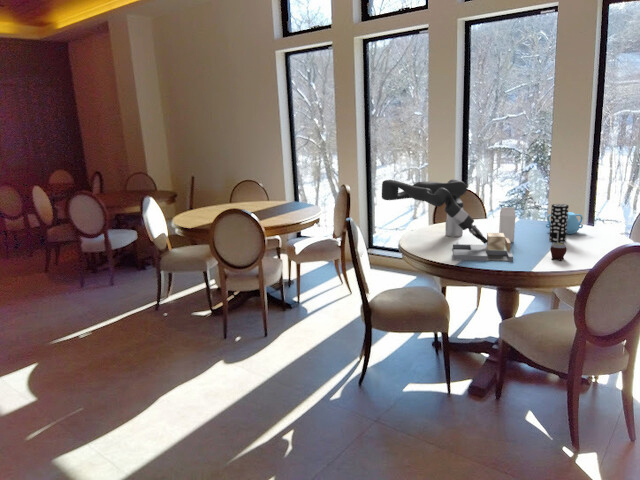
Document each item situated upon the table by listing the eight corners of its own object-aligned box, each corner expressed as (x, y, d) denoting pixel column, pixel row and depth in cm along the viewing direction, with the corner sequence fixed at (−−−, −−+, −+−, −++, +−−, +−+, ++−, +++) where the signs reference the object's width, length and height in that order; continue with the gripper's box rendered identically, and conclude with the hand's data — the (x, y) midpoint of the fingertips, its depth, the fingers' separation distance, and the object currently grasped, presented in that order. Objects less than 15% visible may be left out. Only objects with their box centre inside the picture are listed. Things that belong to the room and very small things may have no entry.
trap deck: (453, 260, 249) (453, 247, 248) (452, 248, 270) (453, 236, 268) (512, 261, 242) (513, 248, 241) (507, 249, 263) (508, 237, 262)
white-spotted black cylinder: (546, 239, 280) (548, 204, 275) (560, 238, 281) (563, 203, 276) (554, 243, 272) (556, 207, 267) (568, 242, 273) (571, 206, 268)
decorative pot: (562, 228, 305) (563, 206, 301) (585, 233, 290) (587, 210, 287) (542, 231, 298) (543, 209, 295) (565, 237, 284) (566, 213, 281)
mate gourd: (560, 256, 247) (562, 227, 243) (569, 261, 239) (572, 230, 236) (546, 257, 246) (548, 228, 243) (555, 262, 239) (557, 231, 235)
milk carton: (514, 241, 278) (515, 208, 273) (500, 241, 279) (502, 208, 275) (511, 238, 285) (513, 206, 280) (498, 238, 286) (500, 206, 282)
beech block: (487, 249, 256) (488, 236, 254) (486, 245, 263) (487, 232, 262) (504, 250, 254) (504, 236, 252) (502, 246, 261) (503, 233, 260)
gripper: (456, 221, 266) (480, 244, 266) (457, 226, 254) (481, 250, 254) (467, 211, 264) (490, 234, 264) (468, 216, 251) (493, 240, 251)
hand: (486, 242), depth 259 cm, fingers closed
